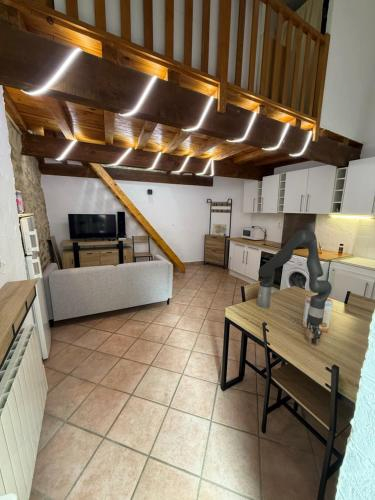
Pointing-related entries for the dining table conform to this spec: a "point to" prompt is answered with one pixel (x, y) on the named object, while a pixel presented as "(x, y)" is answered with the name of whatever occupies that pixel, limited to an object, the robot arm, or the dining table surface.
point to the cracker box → (327, 314)
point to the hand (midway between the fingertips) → (311, 340)
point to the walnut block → (310, 337)
